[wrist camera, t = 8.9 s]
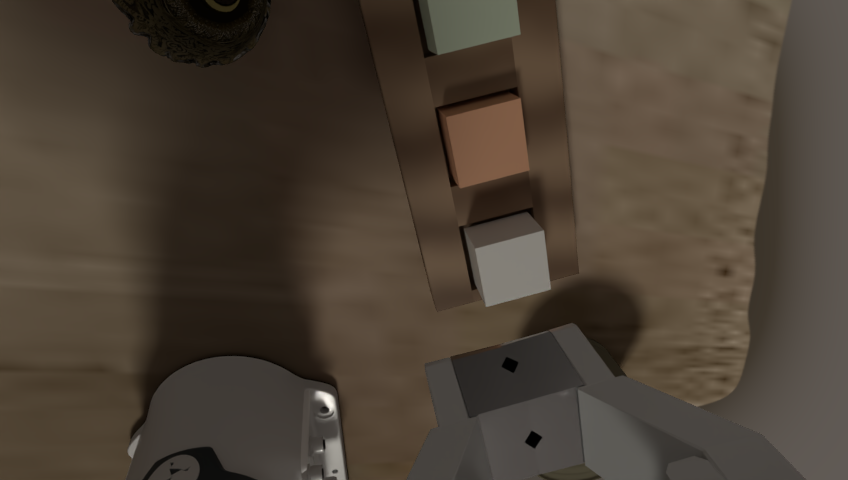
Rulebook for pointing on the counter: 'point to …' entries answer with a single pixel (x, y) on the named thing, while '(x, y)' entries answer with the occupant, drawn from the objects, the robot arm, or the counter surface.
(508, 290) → the grey button
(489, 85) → the walnut button board
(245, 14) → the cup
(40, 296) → the counter surface
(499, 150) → the terracotta button
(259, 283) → the counter surface
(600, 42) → the counter surface
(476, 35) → the sage button
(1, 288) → the counter surface
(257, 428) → the robot arm
